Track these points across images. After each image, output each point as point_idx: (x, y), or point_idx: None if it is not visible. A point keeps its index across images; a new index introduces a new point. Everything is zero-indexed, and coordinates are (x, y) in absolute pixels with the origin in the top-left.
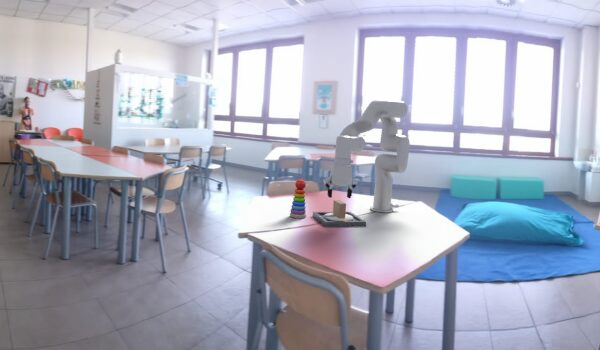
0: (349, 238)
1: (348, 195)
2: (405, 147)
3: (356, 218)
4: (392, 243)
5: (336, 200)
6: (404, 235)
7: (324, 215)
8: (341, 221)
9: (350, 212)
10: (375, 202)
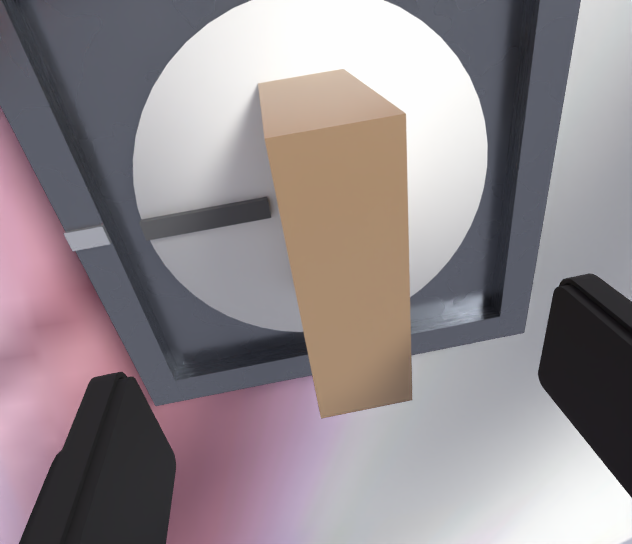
0: (291, 520)
1: (571, 380)
2: None
3: (508, 193)
4: (471, 530)
5: (323, 175)
6: None
7: (136, 190)
8: (301, 365)
9: None
10: None
